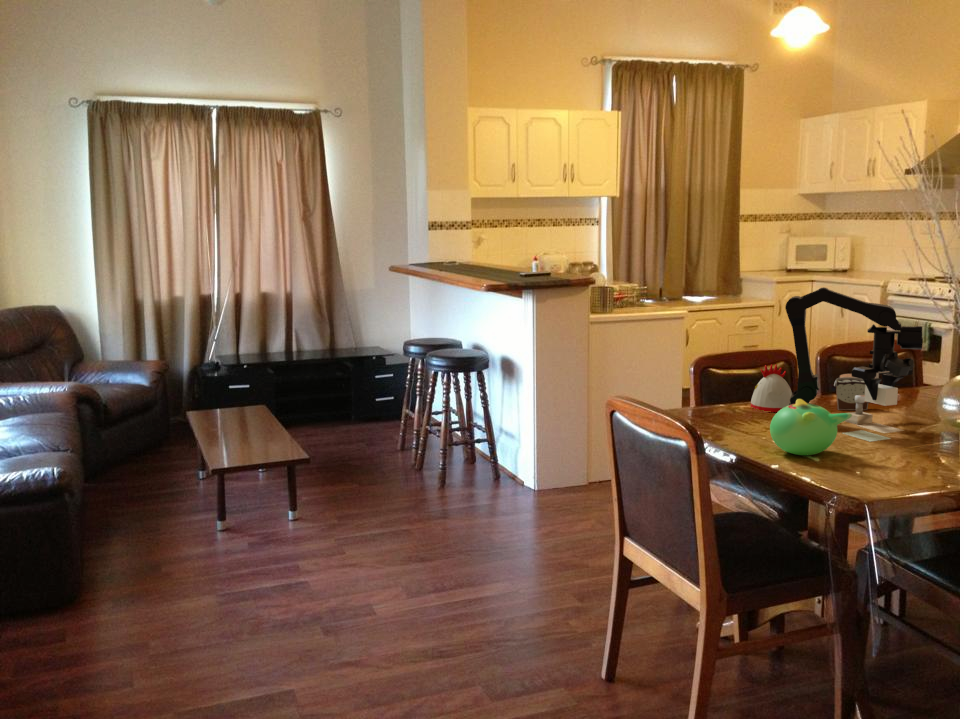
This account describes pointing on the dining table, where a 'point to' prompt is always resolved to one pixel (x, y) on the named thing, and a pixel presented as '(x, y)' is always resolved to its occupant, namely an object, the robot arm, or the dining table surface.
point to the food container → (849, 392)
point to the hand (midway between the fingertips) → (880, 399)
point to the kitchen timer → (771, 391)
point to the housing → (868, 421)
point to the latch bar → (862, 398)
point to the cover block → (883, 395)
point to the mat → (866, 435)
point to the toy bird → (805, 428)
